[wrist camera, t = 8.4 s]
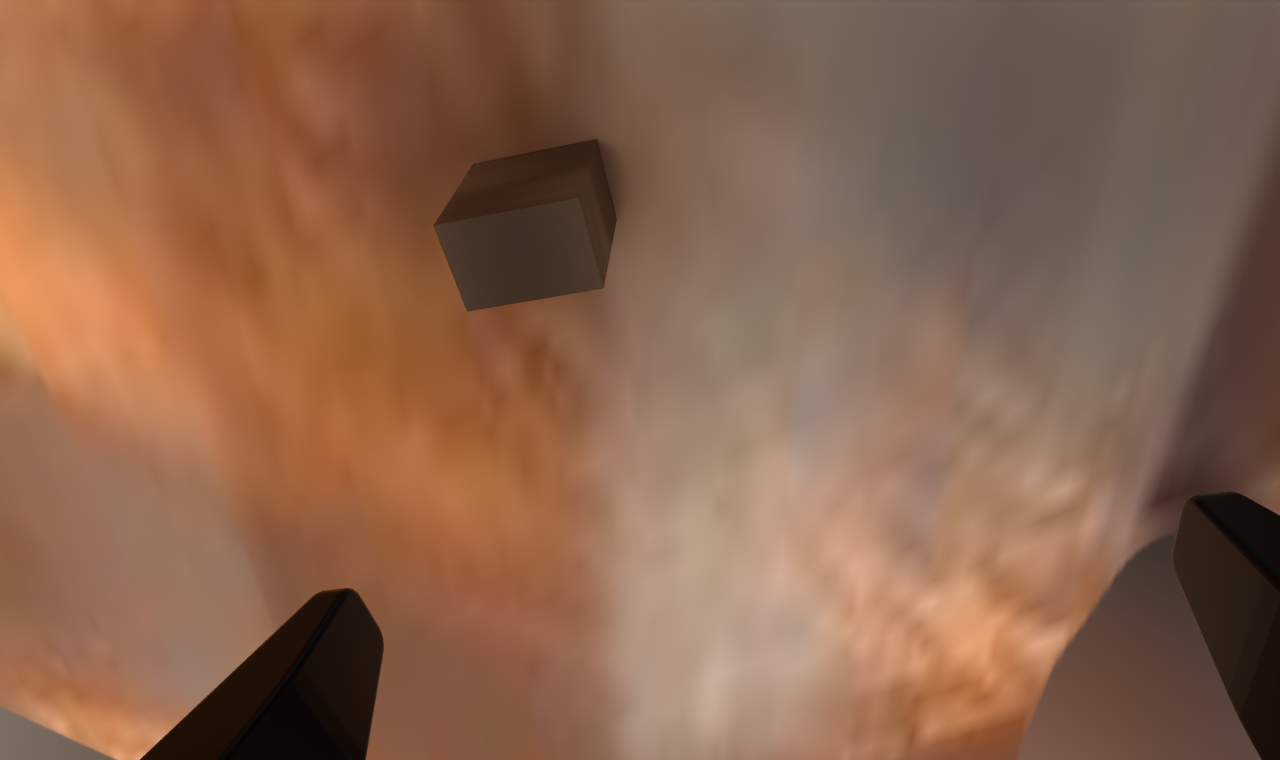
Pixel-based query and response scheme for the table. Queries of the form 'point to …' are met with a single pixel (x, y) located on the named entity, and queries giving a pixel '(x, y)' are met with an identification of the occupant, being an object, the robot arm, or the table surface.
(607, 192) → the pair of blocks
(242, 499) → the table surface
